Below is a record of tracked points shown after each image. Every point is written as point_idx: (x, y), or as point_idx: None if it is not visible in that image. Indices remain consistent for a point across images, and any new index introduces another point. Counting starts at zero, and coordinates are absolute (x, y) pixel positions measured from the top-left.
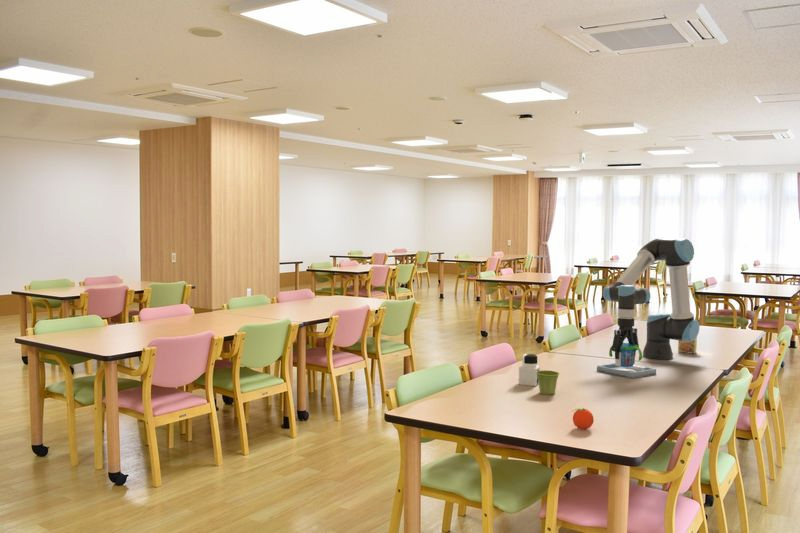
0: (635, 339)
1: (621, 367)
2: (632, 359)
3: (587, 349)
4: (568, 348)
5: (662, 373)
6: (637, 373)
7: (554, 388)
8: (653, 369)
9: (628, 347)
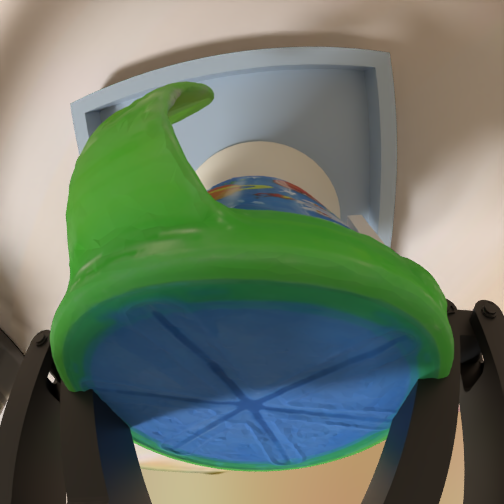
0: (29, 438)
1: None
2: (242, 184)
3: (138, 450)
4: (175, 464)
5: (49, 119)
6: (307, 48)
7: None
8: (94, 93)
9: (410, 274)
